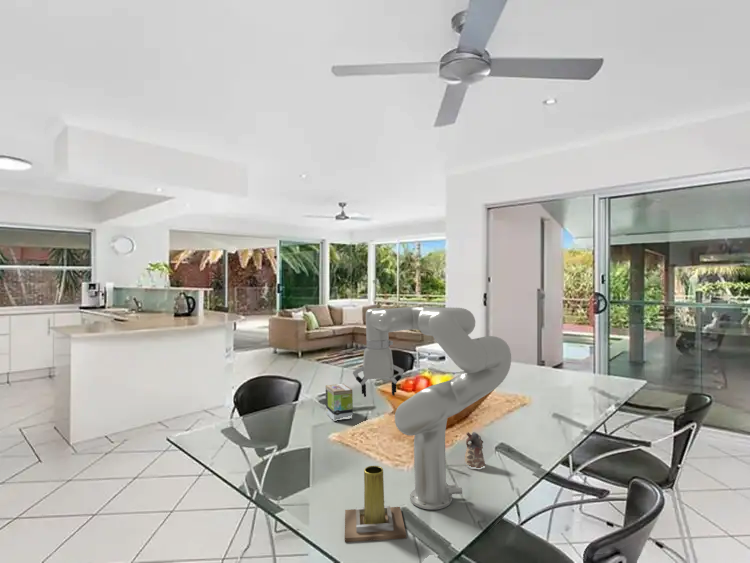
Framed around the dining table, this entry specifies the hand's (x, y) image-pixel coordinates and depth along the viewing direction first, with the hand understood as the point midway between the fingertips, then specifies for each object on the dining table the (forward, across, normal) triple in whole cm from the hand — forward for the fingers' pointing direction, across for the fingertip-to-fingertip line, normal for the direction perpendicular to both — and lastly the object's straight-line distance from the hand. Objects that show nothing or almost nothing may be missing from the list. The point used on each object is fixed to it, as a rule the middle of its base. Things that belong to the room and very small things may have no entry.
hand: (379, 395), depth 149 cm
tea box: (+29, +16, -70) cm, 77 cm away
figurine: (+28, -34, -6) cm, 45 cm away
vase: (+28, +4, +28) cm, 39 cm away
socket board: (+28, +4, +28) cm, 40 cm away
